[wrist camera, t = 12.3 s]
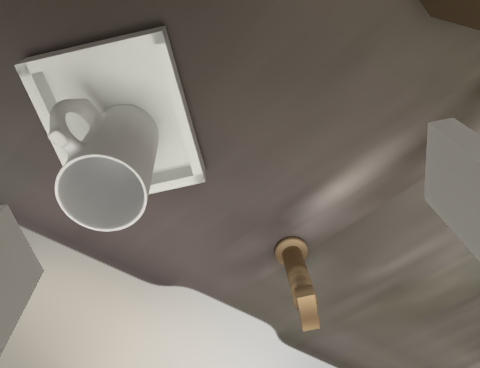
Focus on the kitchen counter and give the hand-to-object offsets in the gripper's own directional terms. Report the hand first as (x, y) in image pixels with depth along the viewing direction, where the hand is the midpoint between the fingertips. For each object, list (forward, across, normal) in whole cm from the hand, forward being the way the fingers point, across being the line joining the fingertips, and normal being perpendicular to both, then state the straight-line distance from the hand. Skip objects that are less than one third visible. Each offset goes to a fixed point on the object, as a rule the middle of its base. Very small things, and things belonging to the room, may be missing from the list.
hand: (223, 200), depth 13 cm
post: (+29, +4, -26) cm, 39 cm away
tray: (+29, -10, -6) cm, 31 cm away
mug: (+28, -11, -6) cm, 31 cm away
